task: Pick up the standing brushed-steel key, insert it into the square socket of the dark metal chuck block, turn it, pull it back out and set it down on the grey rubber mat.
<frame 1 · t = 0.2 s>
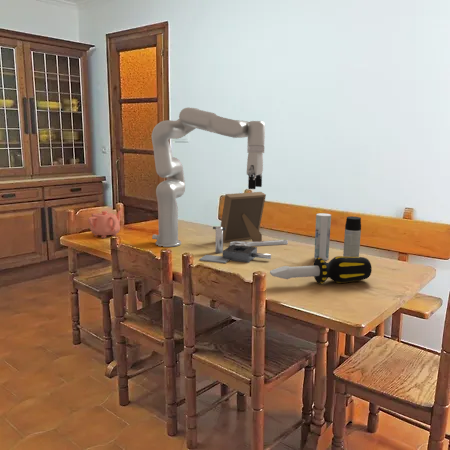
hand: (255, 187, 211), 31 cm above the table, fingers open, 9 cm apart
screwdriver: (321, 284, 175), on the table
chuck block: (240, 257, 209), on the table
mat: (215, 259, 206), on the table
spray can: (350, 263, 203), on the table
photo frame: (244, 242, 240), on the table
teapot: (106, 235, 251), on the table
wrench: (262, 244, 230), point 1 cm above the table
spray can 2: (321, 259, 210), on the table
key: (219, 252, 218), on the table
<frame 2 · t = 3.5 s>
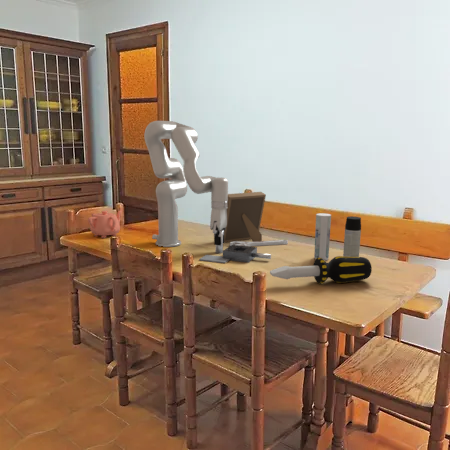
hand: (219, 243, 217), 4 cm above the table, fingers closed on key, 3 cm apart
key: (219, 252, 218), on the table, touching gripper
everything else where it was.
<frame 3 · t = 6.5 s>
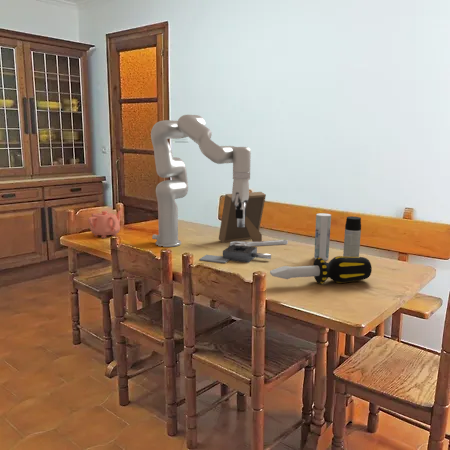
hand: (240, 217, 206), 18 cm above the table, fingers closed on key, 3 cm apart
key: (240, 226, 206), point 14 cm above the table, touching gripper
everything else where it was.
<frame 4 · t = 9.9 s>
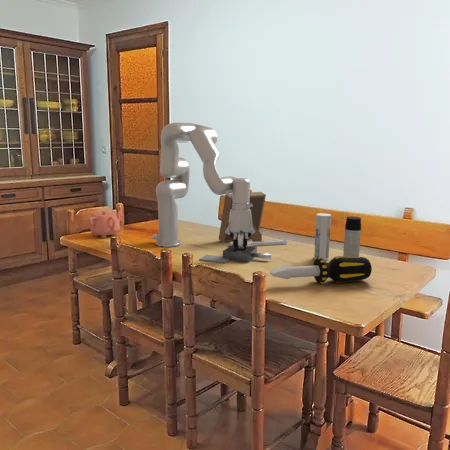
hand: (240, 247, 208), 5 cm above the table, fingers closed on key, 3 cm apart
key: (239, 256, 209), point 1 cm above the table, touching gripper
everything else where it was.
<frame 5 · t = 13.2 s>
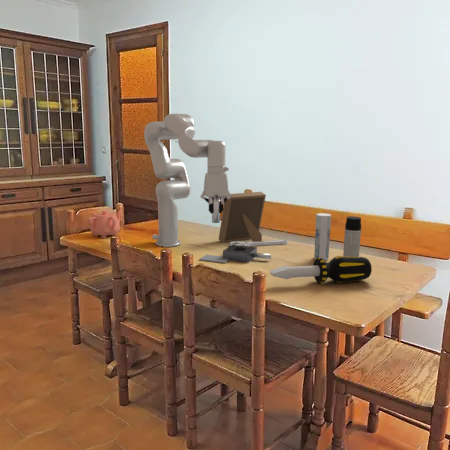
hand: (215, 212, 202), 21 cm above the table, fingers closed on key, 3 cm apart
key: (215, 222, 203), point 17 cm above the table, touching gripper
everything else where it was.
when the fingers open (6 cm above the table, at t = 16.3 s): key stays where it is, resting on mat.
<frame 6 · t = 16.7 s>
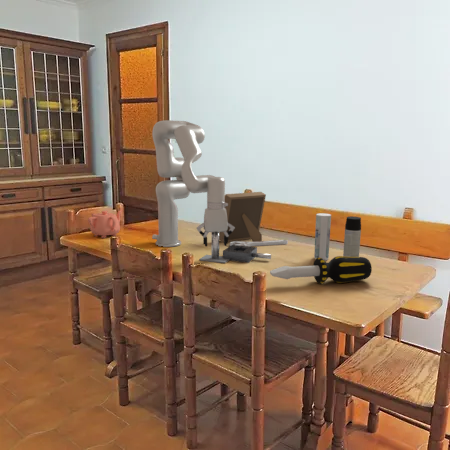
hand: (215, 245, 205), 6 cm above the table, fingers open, 8 cm apart
key: (215, 258, 206), point 1 cm above the table, touching mat
everything else where it was.
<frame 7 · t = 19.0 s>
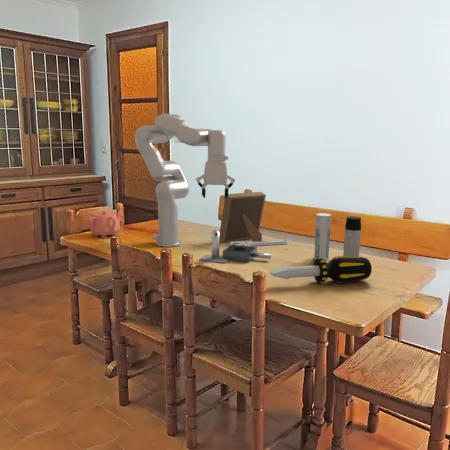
hand: (214, 197, 209), 26 cm above the table, fingers open, 9 cm apart
nothing on the table moved.
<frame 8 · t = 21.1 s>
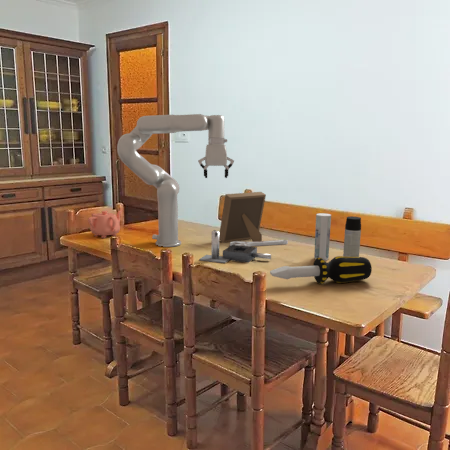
hand: (216, 177, 226), 33 cm above the table, fingers open, 9 cm apart
nothing on the table moved.
at the end: key inside the target area on the mat (0.1 cm from its centre), point 0.6 cm above the mat's base; the gripper is holding nothing; key touching mat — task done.
